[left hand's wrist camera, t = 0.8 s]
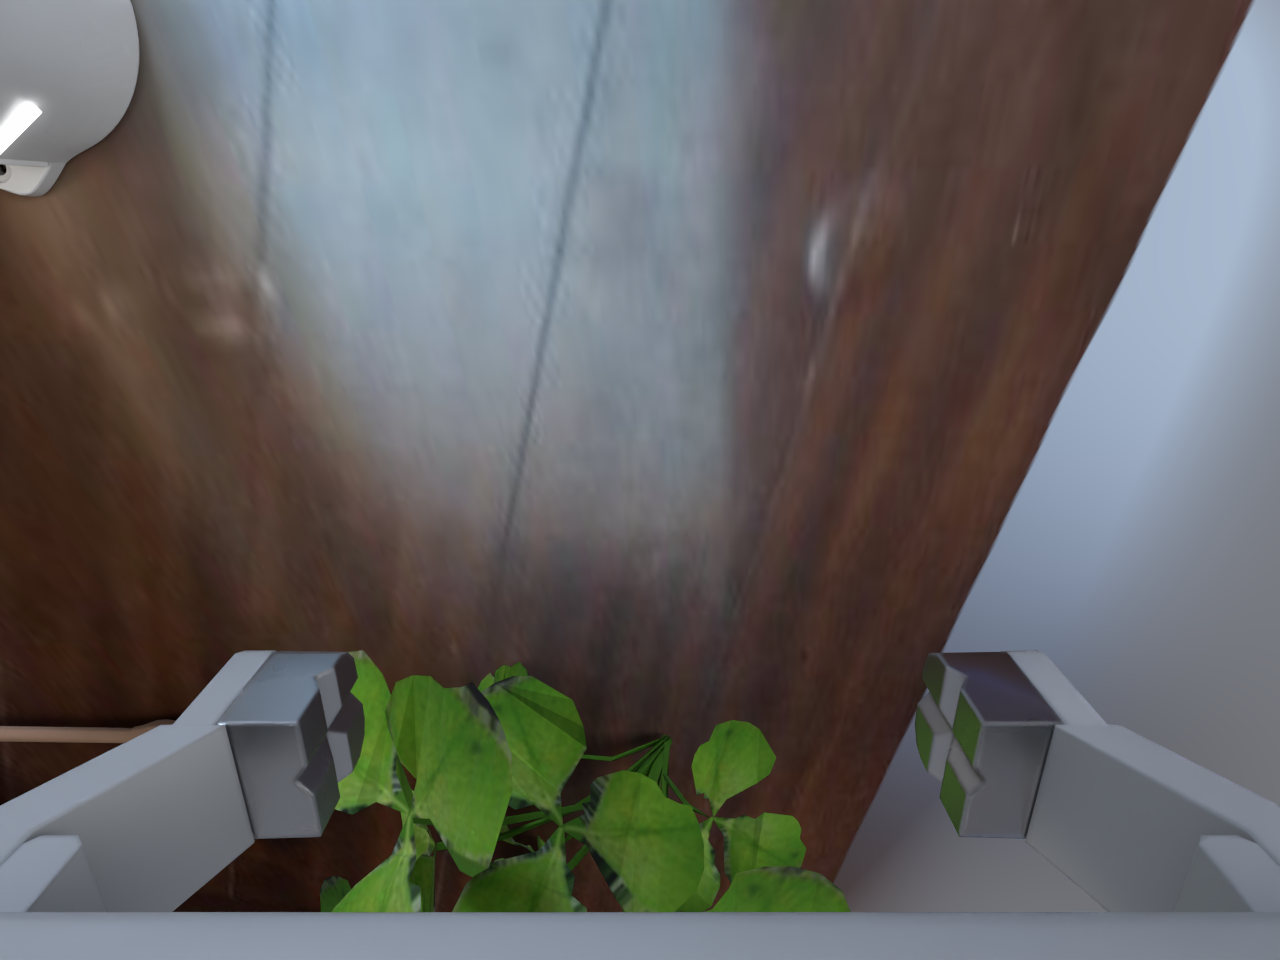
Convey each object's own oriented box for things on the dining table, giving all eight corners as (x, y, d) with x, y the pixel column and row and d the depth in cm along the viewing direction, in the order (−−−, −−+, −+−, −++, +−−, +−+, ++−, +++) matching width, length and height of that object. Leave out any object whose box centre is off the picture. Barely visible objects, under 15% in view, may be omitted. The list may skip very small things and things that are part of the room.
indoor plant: (882, 999, 64) (781, 1537, 41) (489, 811, 80) (255, 1121, 57) (1008, 605, 43) (946, 1273, 19) (435, 454, 58) (19, 718, 35)
